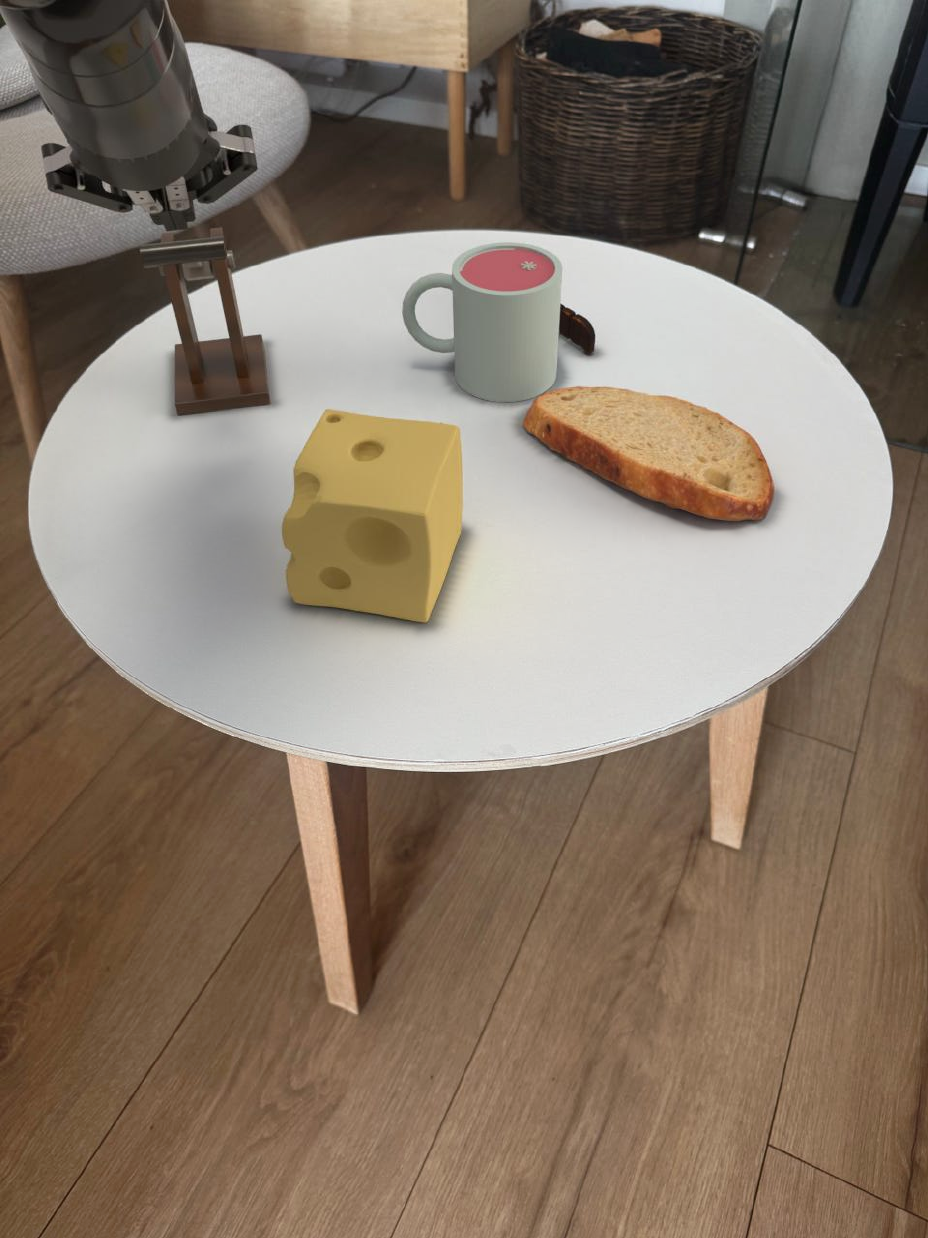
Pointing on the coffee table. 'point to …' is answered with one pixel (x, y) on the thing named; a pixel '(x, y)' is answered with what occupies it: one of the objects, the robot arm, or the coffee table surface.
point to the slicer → (214, 349)
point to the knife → (577, 329)
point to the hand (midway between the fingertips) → (175, 216)
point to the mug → (498, 319)
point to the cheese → (374, 514)
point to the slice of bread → (657, 449)
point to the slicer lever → (186, 256)
